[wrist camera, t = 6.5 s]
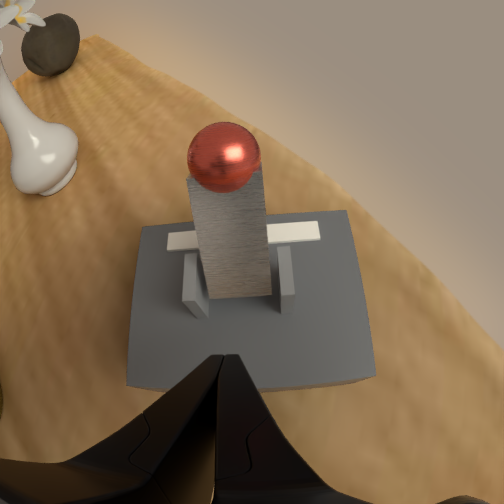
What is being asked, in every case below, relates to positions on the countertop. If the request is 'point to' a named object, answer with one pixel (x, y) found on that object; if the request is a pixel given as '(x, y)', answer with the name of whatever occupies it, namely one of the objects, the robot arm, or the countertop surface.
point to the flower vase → (33, 125)
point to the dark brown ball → (51, 45)
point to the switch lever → (229, 211)
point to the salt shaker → (1, 401)
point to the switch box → (253, 309)
